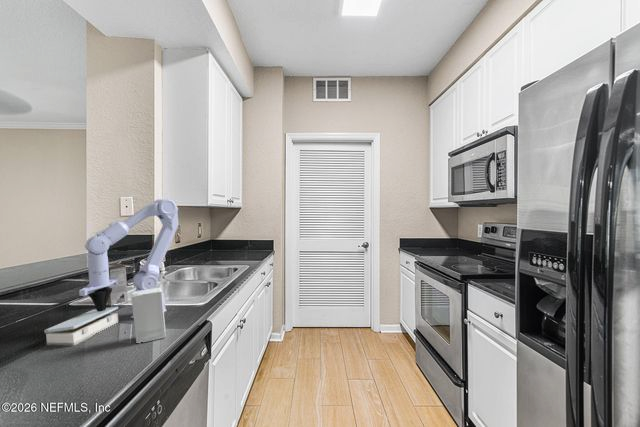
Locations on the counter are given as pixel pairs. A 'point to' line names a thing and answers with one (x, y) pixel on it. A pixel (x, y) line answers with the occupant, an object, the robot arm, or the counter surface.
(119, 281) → the coffee box
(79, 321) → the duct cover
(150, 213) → the robot arm
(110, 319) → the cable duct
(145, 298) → the skincare box
